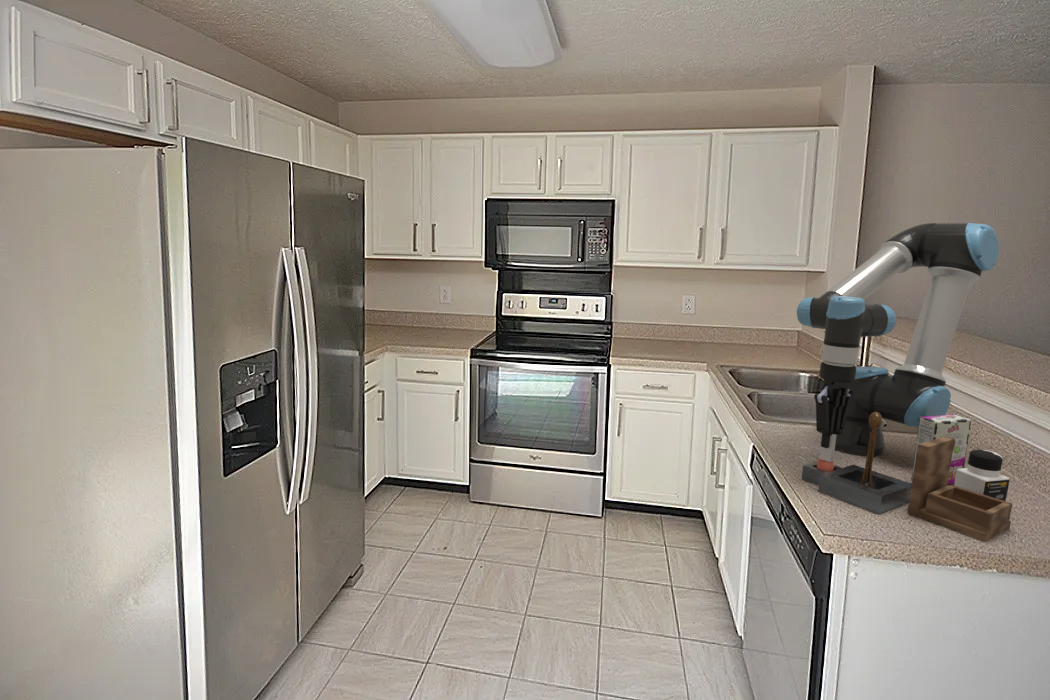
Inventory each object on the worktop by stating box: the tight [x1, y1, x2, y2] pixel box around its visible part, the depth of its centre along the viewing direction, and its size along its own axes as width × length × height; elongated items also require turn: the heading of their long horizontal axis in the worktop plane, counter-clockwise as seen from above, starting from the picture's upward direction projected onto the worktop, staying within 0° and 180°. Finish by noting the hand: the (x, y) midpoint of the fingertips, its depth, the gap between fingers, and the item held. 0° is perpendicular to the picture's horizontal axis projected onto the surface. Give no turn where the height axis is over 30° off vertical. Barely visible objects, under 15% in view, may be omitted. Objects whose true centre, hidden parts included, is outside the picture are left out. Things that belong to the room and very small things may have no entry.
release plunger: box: [817, 458, 835, 472], centre depth 152 cm, size 4×4×5 cm
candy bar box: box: [911, 414, 972, 486], centre depth 153 cm, size 11×5×16 cm, turn 107°
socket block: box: [801, 460, 912, 515], centre depth 146 cm, size 14×20×4 cm
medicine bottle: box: [954, 449, 1010, 502], centre depth 142 cm, size 7×7×12 cm
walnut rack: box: [906, 436, 1013, 542], centre depth 131 cm, size 12×14×16 cm
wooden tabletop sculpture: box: [859, 412, 883, 489], centre depth 142 cm, size 6×5×20 cm
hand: (825, 459), depth 151 cm, fingers closed
